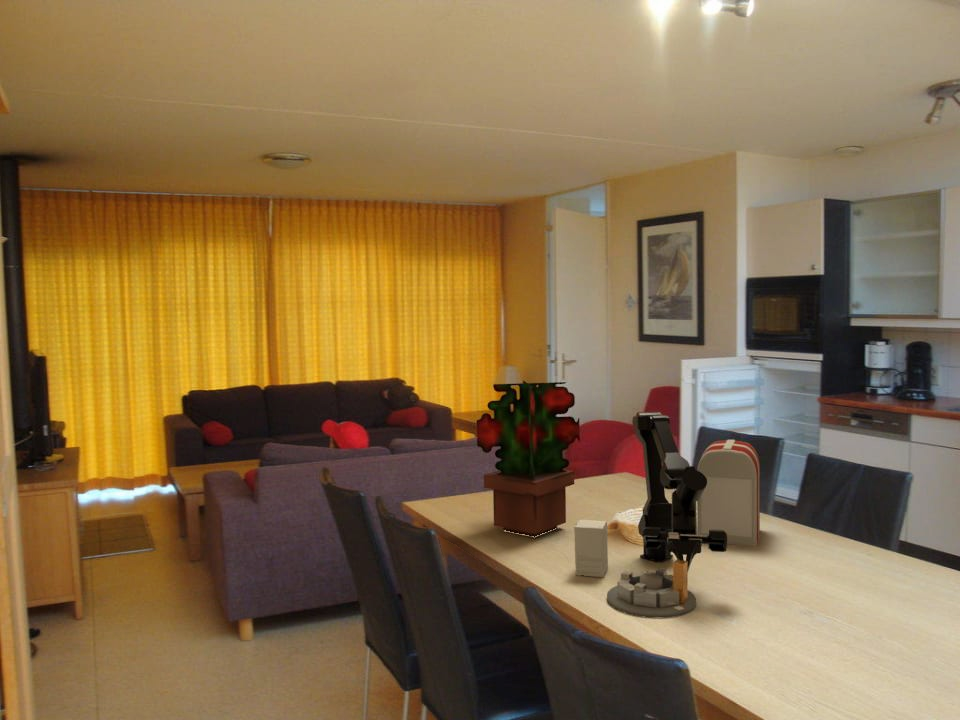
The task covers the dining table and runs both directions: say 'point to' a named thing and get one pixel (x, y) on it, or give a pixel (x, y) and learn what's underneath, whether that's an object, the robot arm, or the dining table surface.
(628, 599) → the grey stone ring wall
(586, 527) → the supplement box
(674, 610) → the grey stone circle model
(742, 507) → the red-striped tombstone block
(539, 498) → the potted plant
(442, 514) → the dining table surface
